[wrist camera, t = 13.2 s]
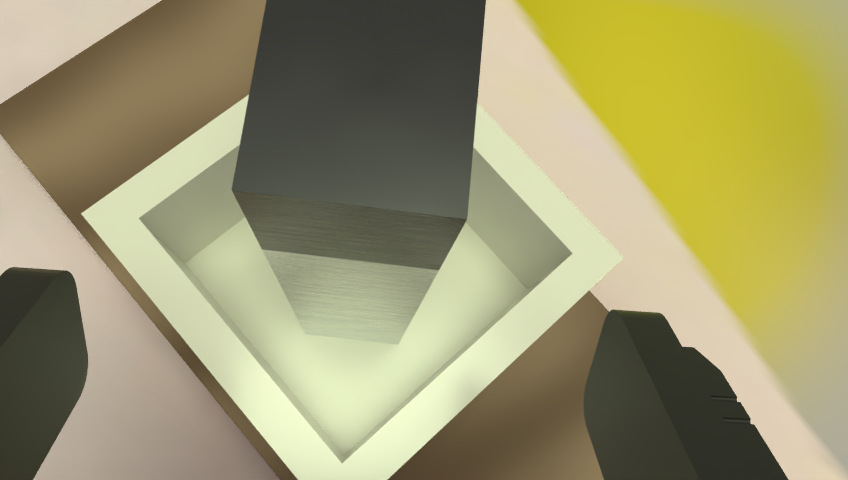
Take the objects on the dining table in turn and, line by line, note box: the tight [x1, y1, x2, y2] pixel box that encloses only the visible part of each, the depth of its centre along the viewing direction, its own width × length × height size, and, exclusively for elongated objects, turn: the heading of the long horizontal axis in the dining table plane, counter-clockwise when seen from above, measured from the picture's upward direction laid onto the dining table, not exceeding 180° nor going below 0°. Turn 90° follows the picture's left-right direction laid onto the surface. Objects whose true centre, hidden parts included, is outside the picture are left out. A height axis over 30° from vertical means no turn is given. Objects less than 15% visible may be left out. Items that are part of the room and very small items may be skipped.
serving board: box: [0, 0, 609, 480], centre depth 25 cm, size 24×12×2 cm, turn 42°
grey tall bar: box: [231, 0, 486, 345], centre depth 16 cm, size 3×4×14 cm
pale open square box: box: [81, 95, 624, 480], centre depth 21 cm, size 10×10×6 cm
